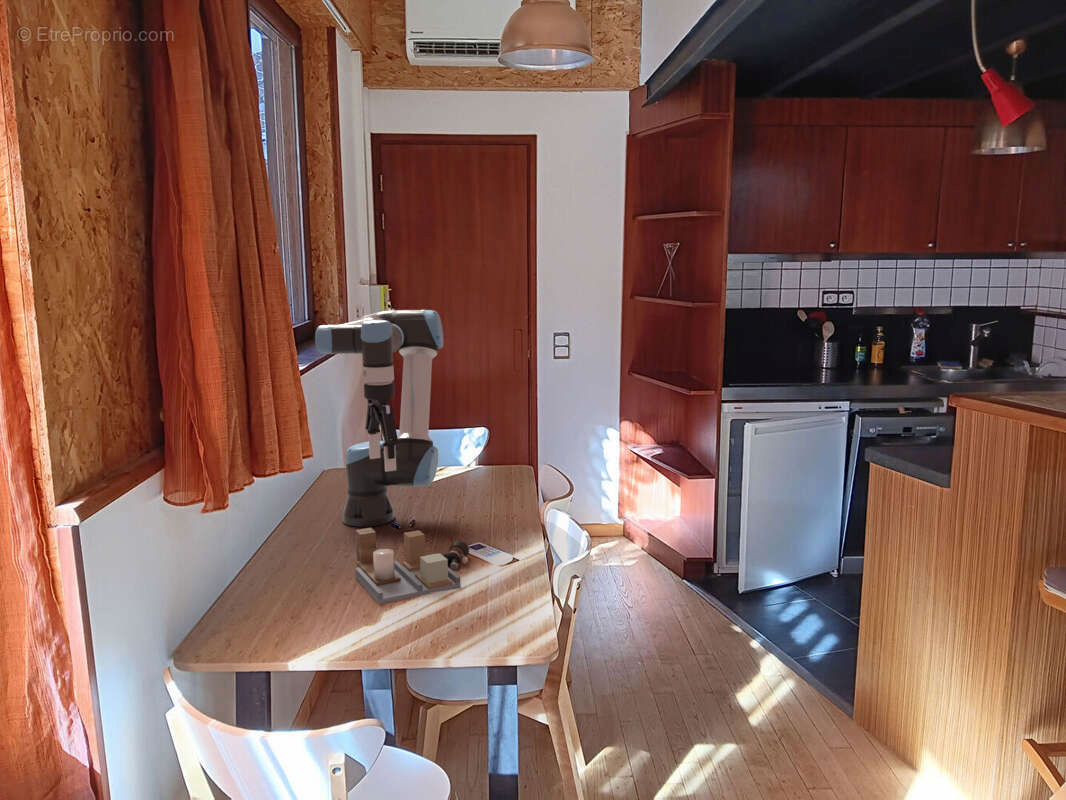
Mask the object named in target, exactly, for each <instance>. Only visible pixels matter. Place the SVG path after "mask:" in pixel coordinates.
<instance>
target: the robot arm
mask: <svg viewBox="0 0 1066 800" xmlns="http://www.w3.org/2000/svg"><path fill="white" fill-rule="evenodd" d="M314 341H315V342H314V343H315V348H316V350H317V352H318V353H320V354H327V355H328V354H329V355H342V354H343V355H344V354H345V355H346V354H349V355H350V354H356V355H360V354H361V357H362V369H363V370H361V371H360V373H361V374H360V375H362V376H363V382H364V385H363V397H364V399H366V400H367V409H366V410H367V412H366V419H365V430H366V431H367V433H368V441H364V442H360V443H356V444H353V445H350V446H349V447H348V448H347V449H346V453H345V470H346V486H347V490H346V491H347V496H346V499H345V500H346V501H345V504H344V508H343V511H342V522H343V523H344V524H345V525H347V526H352V527H358V528H359V527H360V528H363V527H365V528H369V527H375V526H382V525H385V524H388V523H391V522H392V521H393V520H394V519H395V510H394V507H393V504H392V501H391V499H390V497H389V494H388V487H414V488H417V487H428V486H430V485H431V484H432V483H433V482H434V481H435V480H434V479H435V477H436V474H437V470H438V465H439V450H438V448H437V447H436V446H435V445H434V441H433V439H432V438H431V437H430V435H429V429H430V428H429V427H430V426H429V425H430V409H431V407H430V406H431V391H432V390H431V389H432V368H433V367H432V365H433V359H434V358H436V356H437V355H438V349H439V350H441V349H442V348H444V343H445V342H444V330H443V324H442V320H441V317H440V314H439V313H438V312H437V311H436V310H433V309H432V310H431V309H423V308H422V309H392V310H391V309H389V310H381V311H377V312H374V313H371V314H366V315H363V316H361V317H360V318H359V319H358V320H354V321H350V322H344V323H341V324H326V325H325V324H324V325H318V327H317V328H316V330H315V336H314ZM396 352H399V353H398V354H400V355H401V356H402V359H403V362H402V363H403V364H402V365H403V366H402V379H401V383H402V385H401V398H400V399H401V401H400V420H399V433H397V427H396V423H395V417H394V407H393V405H392V404H389V401H388V400H389V399H393V398H395V383H394V380H395V373H394V372H395V371H394V359H393V358H394V355H393V353H396ZM380 433H381V434H382V437H383V440H380V439H381V437H380Z"/></svg>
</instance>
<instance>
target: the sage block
mask: <svg viewBox="0 0 1066 800" xmlns="http://www.w3.org/2000/svg"><path fill="white" fill-rule="evenodd" d="M431 554H432V555H429V554H427V555H425V556H421V557H420V573H421V578H423V579H424V580H425V581H426V582H427V583H428V584H429V583H434V582H439V581H444V580H448V567H449V565H448V559H446V558H445V557H444V556H443V555H441V554H442V553H440V552H439V553H431Z"/></svg>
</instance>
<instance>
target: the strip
mask: <svg viewBox="0 0 1066 800" xmlns="http://www.w3.org/2000/svg"><path fill="white" fill-rule="evenodd" d="M355 544H356V545H355V548H356V549H355V550H356V551H355V552H356V562H355V563H356V566H357V568H360V569H361V570H362V571H363V572H364V573H365V574H366V575H367V576H368V577H369V578H370V579H371V580H372V582H373V583H374V584H375V585H376V586H379V585H384V584H389V583H394V582H399V581H401V578H400V577H399V576H398V575H397V574H396V573H395V572H394V574H395V576H394V577H393V578H391V579H388V580H377V579H375V578H374V559H373V552H374V551H376V550H377V532H376V531H375V530H374V529H373V528H372V527H365V528H361V529H357V530H355Z"/></svg>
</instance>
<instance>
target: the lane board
mask: <svg viewBox="0 0 1066 800" xmlns="http://www.w3.org/2000/svg"><path fill="white" fill-rule="evenodd" d="M425 539H426V538H425V534H424V533H423V532H422V531H420V530H419V529H418V530H413V531H408V532H403V546H404V547H403V550H404V561H403V562H402V563H400V562H399V561H398V560H394V572H395V573H396V574H397V575H398V576H399V577H400V578H401V581H399V582H394V583H389V584H384V585H379V586H376V585H375V584H374V583H373V582H372V580H371V579H370V578H369V577H368V576H367V575H366V574H365V573H364V572H363V571H362V570H361V569H360V568H359V567H355V570H354V572H355V578H356V580H357V581H358V582H359V583H360V585H361V586H363V588H364V589H365V590H366V591H367V593H369V595H370V596H371V597H372V598H373V600H375V602H377V603H378V605H380V604H381V605H382V604H386V603H390V602H396V601H399V600H404V599H410V598H414V597H419V596H424V595H429V594H434V593H439V592H443V591H448V590H453V589H457V588H461V586H462V585H461V576H460V575H459V574H457V573H456V572H455V571H454V570H453V569H451V567H449V566H448V580H444V581H439V582H434V583H429V584H428V583H427V582H426V581H425V580H424V579H423V578H421V573H420V557H421V556H426V541H425ZM432 554H433V553H430V554H428V555H432Z"/></svg>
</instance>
